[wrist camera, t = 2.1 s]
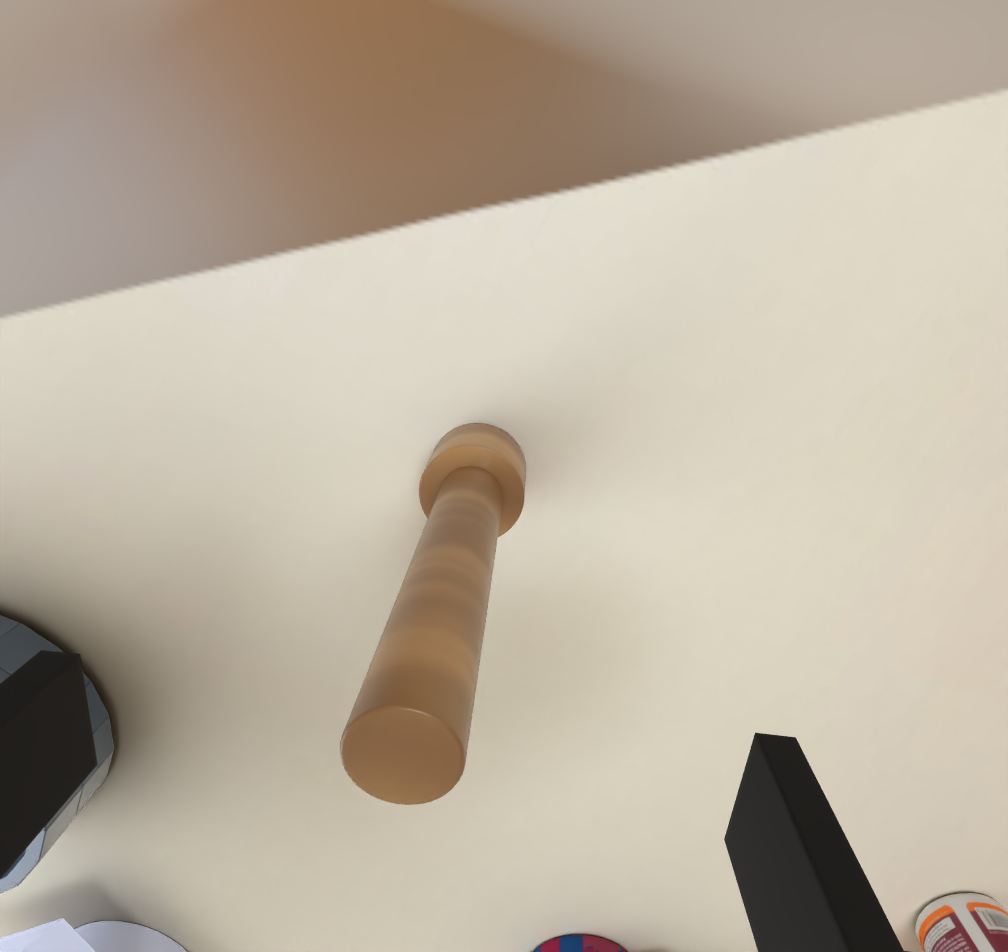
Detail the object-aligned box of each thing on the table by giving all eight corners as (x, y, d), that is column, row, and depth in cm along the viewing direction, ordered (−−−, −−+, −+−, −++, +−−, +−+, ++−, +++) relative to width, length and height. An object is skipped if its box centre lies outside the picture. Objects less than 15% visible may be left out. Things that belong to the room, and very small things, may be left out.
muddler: (434, 418, 26) (294, 658, 11) (530, 428, 26) (517, 683, 11) (429, 506, 28) (298, 824, 13) (520, 516, 28) (497, 847, 13)
